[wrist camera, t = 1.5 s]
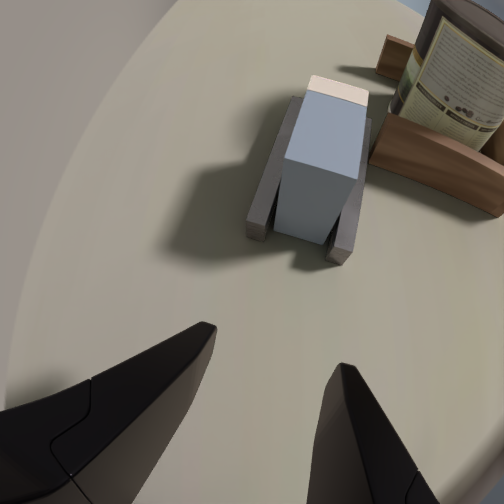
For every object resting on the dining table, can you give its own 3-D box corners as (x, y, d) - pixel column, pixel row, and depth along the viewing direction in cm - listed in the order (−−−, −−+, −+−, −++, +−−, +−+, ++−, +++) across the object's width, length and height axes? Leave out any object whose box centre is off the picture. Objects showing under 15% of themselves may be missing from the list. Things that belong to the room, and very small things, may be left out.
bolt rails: (341, 265, 20) (352, 252, 18) (246, 236, 21) (245, 220, 19) (363, 138, 24) (371, 119, 22) (289, 116, 25) (292, 96, 23)
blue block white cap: (322, 245, 21) (357, 179, 13) (273, 230, 21) (284, 157, 14) (340, 166, 23) (368, 91, 16) (297, 154, 24) (312, 74, 16)
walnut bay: (498, 217, 22) (529, 191, 17) (368, 163, 23) (388, 122, 19) (478, 113, 27) (496, 86, 22) (375, 67, 29) (387, 34, 24)
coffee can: (371, 91, 27) (409, -24, 14) (444, 99, 27) (491, 8, 14) (412, 172, 23) (491, 44, 10) (486, 171, 24) (561, 80, 11)
